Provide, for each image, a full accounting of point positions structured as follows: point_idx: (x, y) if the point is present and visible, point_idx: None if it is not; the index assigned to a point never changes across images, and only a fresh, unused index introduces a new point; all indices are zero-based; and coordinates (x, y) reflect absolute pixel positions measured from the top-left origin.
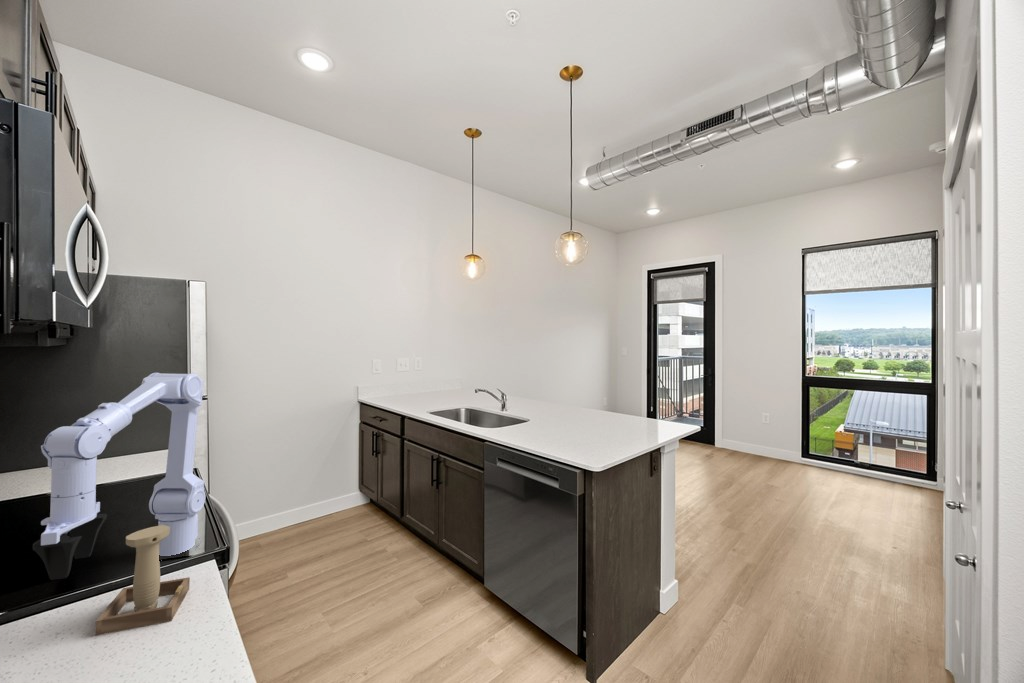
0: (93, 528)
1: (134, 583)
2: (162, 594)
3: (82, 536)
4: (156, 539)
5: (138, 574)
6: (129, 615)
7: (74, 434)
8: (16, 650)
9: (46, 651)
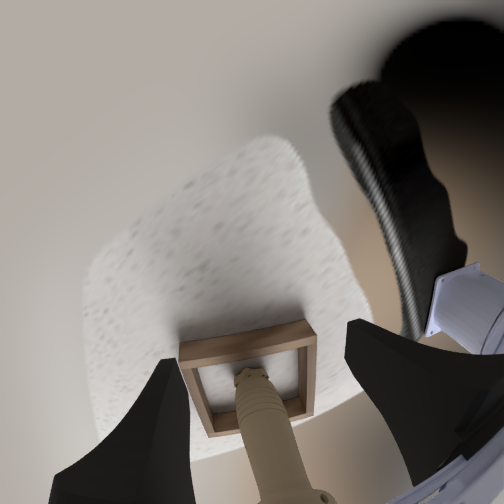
0: (406, 445)
1: (245, 422)
2: (299, 377)
3: (400, 396)
4: None
5: (246, 444)
6: (193, 400)
7: None
8: (153, 221)
9: (140, 286)
